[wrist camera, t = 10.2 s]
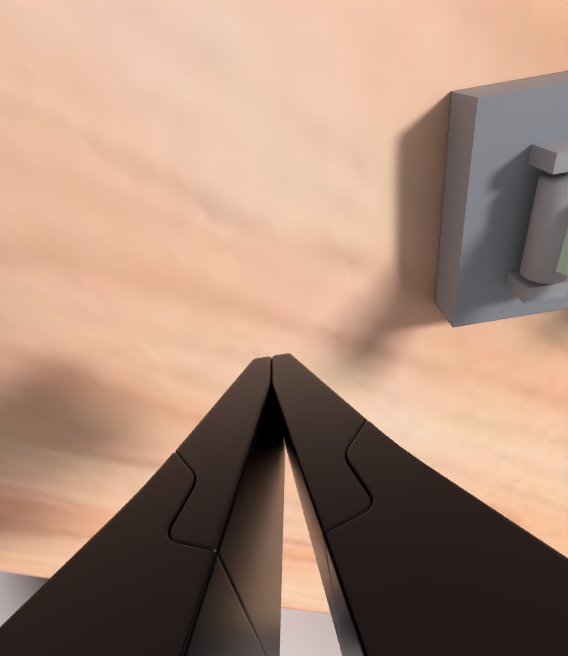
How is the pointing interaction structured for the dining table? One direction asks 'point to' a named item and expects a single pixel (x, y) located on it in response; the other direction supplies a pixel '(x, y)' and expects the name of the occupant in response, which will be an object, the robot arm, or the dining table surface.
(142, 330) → the dining table surface
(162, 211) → the dining table surface
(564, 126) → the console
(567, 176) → the green lever
